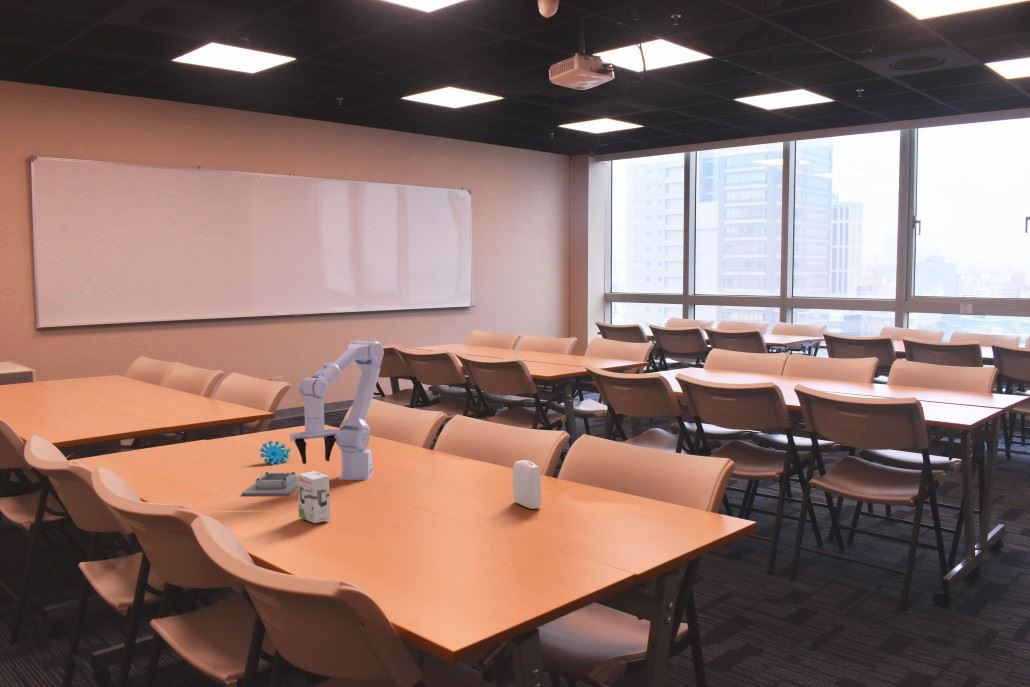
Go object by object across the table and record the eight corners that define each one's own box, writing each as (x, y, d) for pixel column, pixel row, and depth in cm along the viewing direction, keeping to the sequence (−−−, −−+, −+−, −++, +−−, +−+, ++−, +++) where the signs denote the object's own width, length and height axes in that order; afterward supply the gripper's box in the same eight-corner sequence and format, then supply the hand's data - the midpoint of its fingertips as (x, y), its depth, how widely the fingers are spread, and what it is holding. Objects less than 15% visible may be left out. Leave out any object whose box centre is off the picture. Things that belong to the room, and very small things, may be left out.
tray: (308, 479, 261) (307, 467, 260) (288, 495, 241) (288, 483, 241) (264, 479, 261) (264, 467, 261) (241, 495, 241) (241, 483, 241)
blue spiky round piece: (266, 465, 276) (257, 441, 280) (261, 475, 279) (252, 451, 284) (296, 460, 283) (287, 437, 287) (291, 470, 286) (282, 446, 291)
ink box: (297, 517, 219) (296, 473, 218) (314, 513, 222) (313, 470, 221) (314, 523, 213) (313, 478, 212) (331, 519, 216) (330, 475, 215)
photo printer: (511, 501, 232) (510, 458, 231) (524, 499, 234) (523, 456, 233) (529, 510, 223) (529, 465, 222) (543, 508, 225) (542, 463, 224)
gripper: (334, 413, 254) (335, 456, 255) (287, 417, 247) (288, 462, 248) (341, 416, 248) (342, 461, 249) (292, 421, 241) (294, 466, 242)
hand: (315, 461), depth 248 cm, fingers open, 6 cm apart
